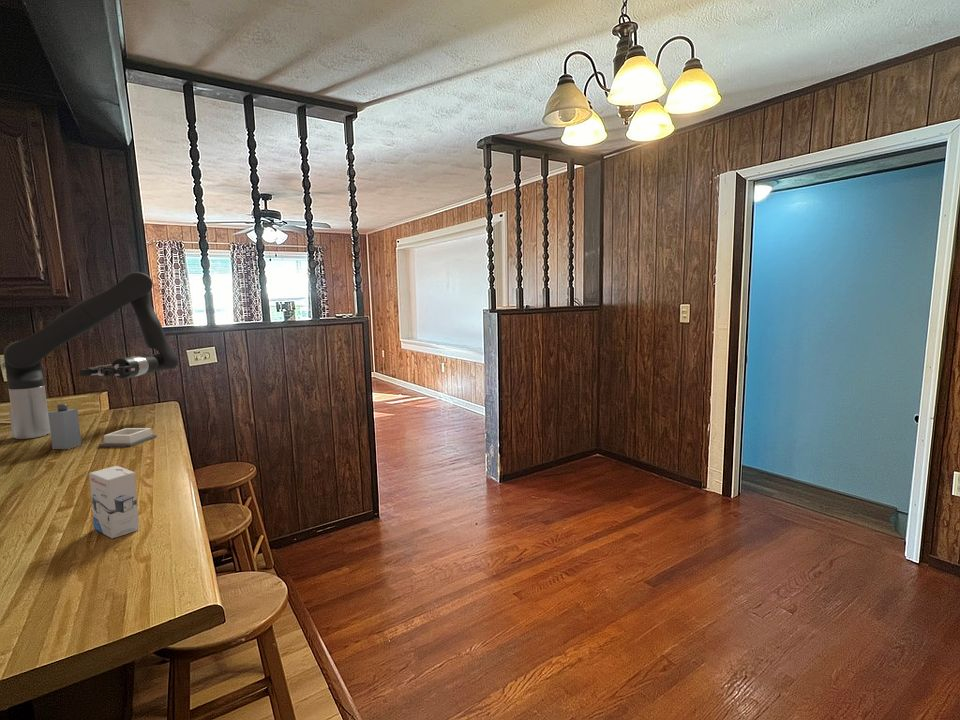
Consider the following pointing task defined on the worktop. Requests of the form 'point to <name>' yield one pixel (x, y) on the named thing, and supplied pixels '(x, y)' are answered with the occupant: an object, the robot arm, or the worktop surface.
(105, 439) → the socket block
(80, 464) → the worktop surface
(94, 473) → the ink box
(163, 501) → the worktop surface
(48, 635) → the worktop surface
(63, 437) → the grey-blue square bottle
